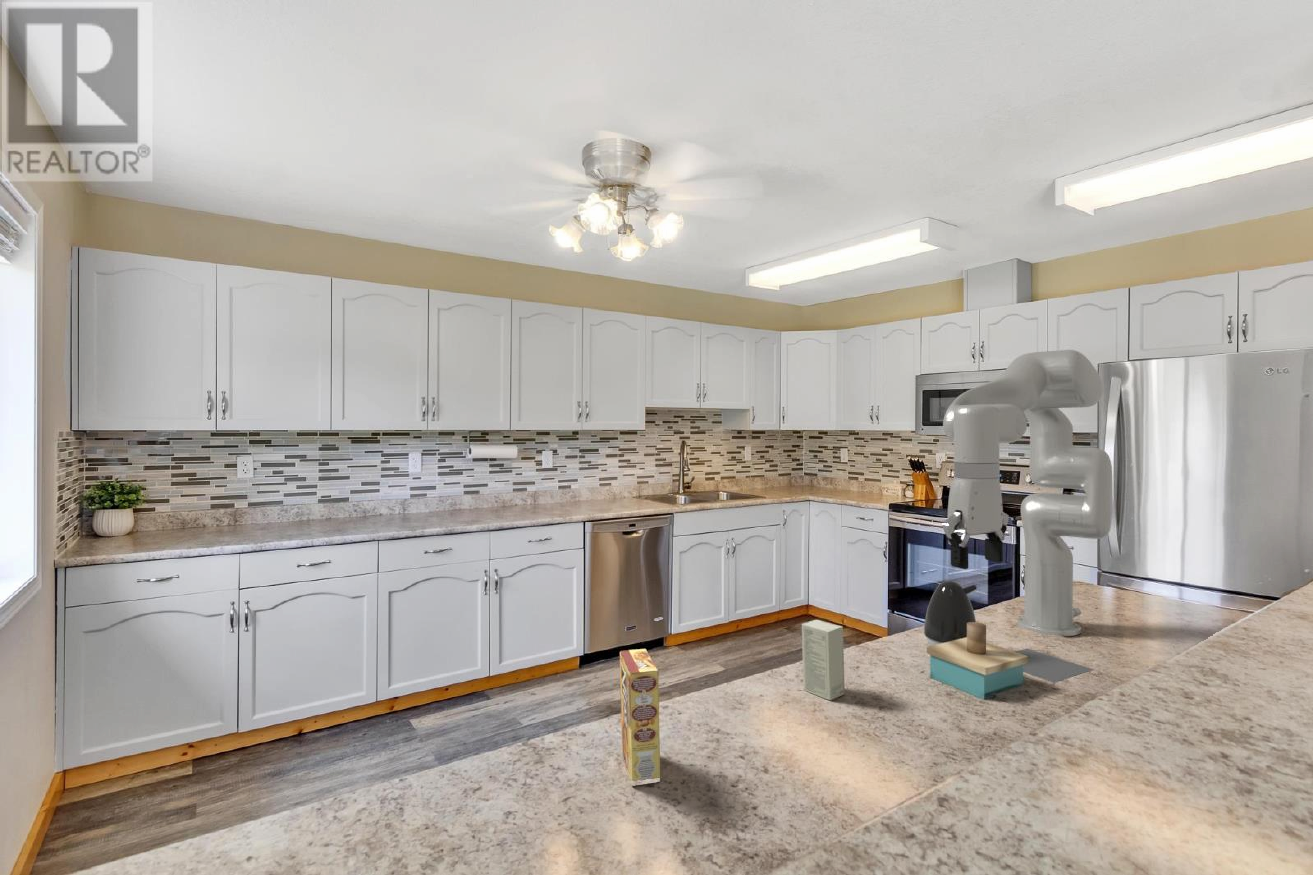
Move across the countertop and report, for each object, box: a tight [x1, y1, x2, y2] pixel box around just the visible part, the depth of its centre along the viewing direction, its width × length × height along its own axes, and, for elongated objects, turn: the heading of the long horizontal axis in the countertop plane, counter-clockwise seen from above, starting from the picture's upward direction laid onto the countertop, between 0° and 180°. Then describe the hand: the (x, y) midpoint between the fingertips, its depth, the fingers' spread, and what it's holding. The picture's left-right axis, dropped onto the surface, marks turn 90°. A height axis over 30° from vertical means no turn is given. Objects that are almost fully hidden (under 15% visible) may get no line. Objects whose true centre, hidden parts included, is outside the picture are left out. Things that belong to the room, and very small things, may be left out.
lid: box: [926, 621, 1028, 675], centre depth 116 cm, size 12×12×6 cm
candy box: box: [619, 648, 661, 781], centre depth 87 cm, size 9×4×15 cm, turn 13°
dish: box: [929, 654, 1024, 700], centre depth 116 cm, size 11×11×4 cm
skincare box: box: [801, 619, 846, 701], centre depth 112 cm, size 6×4×12 cm
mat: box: [1015, 648, 1094, 683], centre depth 124 cm, size 13×13×1 cm
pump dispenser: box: [923, 580, 977, 647], centre depth 131 cm, size 10×10×15 cm
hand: (976, 564), depth 116 cm, fingers open, 9 cm apart
